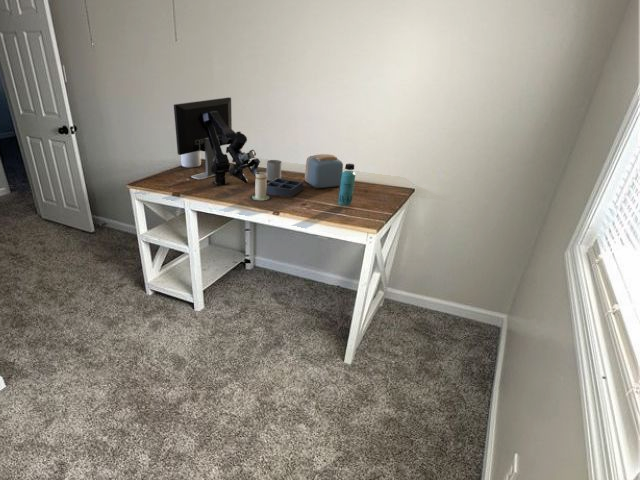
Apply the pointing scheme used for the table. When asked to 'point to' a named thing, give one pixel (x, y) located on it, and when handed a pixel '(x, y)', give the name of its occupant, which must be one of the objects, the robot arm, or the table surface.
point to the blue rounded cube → (323, 171)
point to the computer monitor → (199, 128)
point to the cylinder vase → (191, 159)
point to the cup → (273, 169)
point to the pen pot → (260, 185)
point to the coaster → (261, 199)
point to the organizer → (284, 187)
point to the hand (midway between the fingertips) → (253, 180)
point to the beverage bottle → (347, 186)
